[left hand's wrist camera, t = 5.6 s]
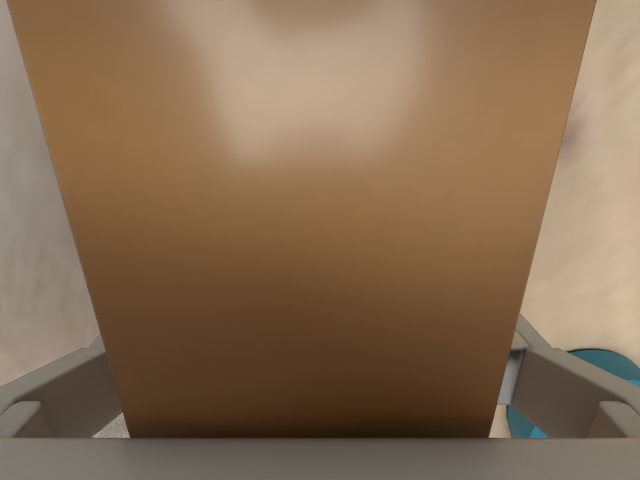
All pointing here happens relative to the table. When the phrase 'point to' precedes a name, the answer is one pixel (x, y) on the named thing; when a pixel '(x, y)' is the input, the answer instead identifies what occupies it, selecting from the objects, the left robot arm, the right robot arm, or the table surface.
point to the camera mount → (599, 358)
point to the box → (305, 201)
